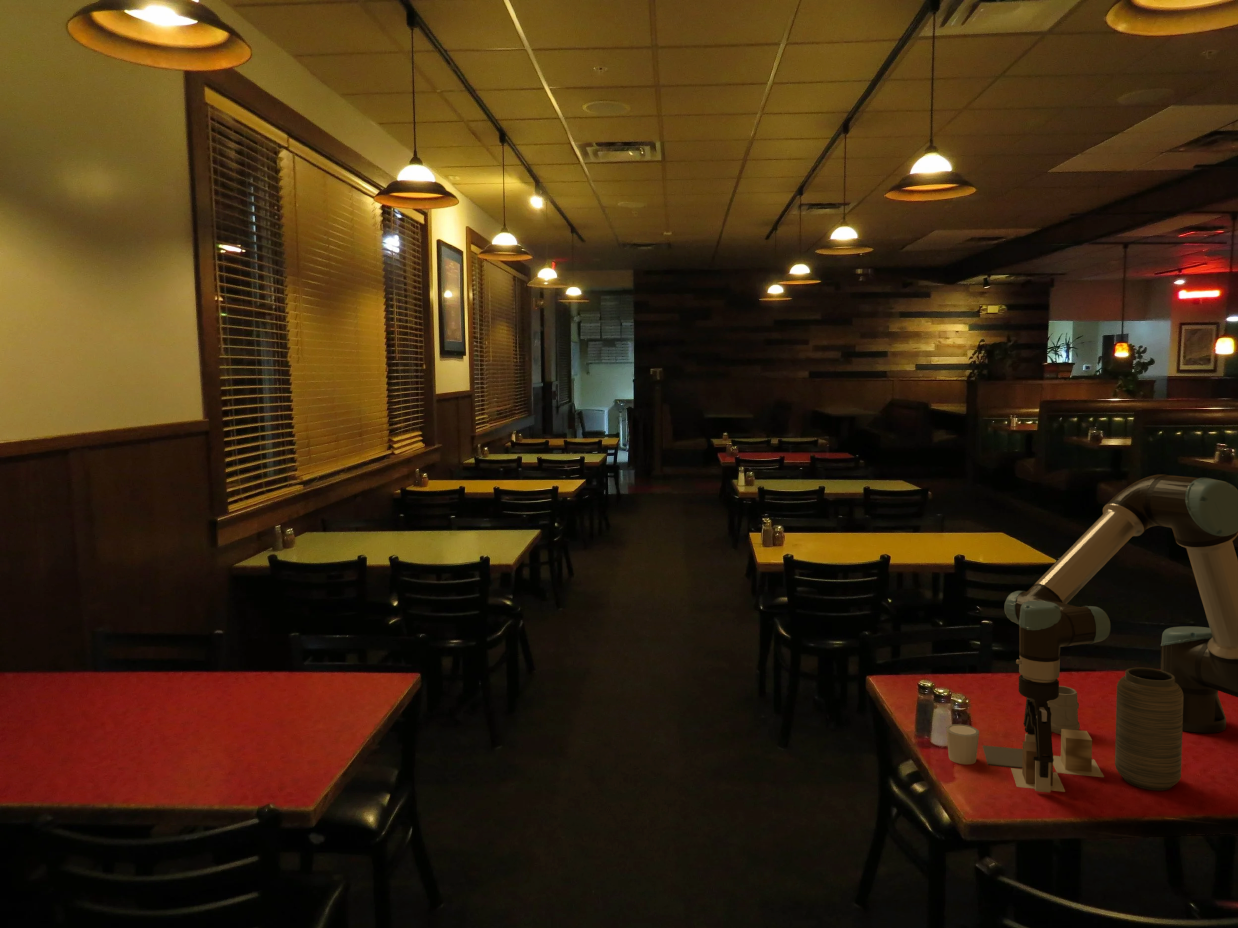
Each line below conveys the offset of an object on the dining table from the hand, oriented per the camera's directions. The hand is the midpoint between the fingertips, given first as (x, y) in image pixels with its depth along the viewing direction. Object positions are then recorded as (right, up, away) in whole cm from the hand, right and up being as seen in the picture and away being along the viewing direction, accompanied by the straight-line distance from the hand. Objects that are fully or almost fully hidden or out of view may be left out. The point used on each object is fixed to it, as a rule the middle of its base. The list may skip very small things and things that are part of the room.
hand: (1037, 777), depth 178 cm
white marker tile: (0, -1, 0) cm, 1 cm away
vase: (+22, -1, -2) cm, 22 cm away
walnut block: (0, 0, 0) cm, 0 cm away
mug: (+17, +2, +26) cm, 31 cm away
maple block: (+11, 0, +6) cm, 13 cm away
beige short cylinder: (-11, 0, +11) cm, 16 cm away
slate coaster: (-1, 0, +11) cm, 11 cm away
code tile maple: (+11, 0, +6) cm, 13 cm away
